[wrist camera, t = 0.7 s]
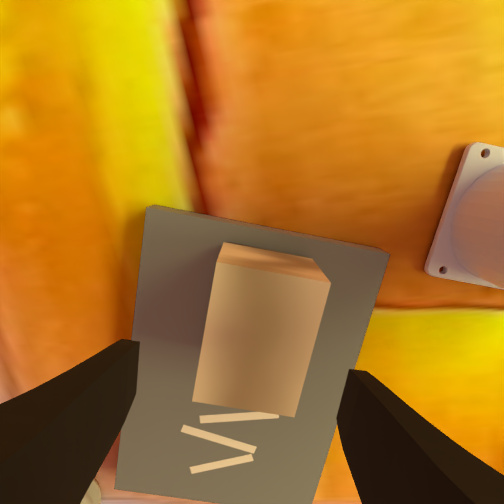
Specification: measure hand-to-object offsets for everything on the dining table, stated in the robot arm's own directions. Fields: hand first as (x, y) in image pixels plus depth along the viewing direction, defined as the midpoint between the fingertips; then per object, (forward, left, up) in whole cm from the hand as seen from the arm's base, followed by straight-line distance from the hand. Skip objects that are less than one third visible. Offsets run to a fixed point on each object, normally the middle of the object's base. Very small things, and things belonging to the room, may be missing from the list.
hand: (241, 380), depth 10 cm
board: (-1, +6, -9) cm, 11 cm away
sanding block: (-1, +1, -8) cm, 8 cm away
